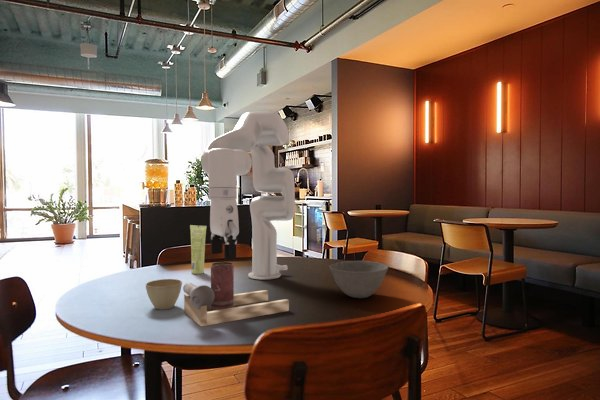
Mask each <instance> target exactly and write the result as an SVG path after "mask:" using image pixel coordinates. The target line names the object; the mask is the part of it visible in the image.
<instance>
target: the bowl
mask: <svg viewBox="0 0 600 400" xmlns="http://www.w3.org/2000/svg"><path fill="white" fill-rule="evenodd" d="M328 268H329V269H330V272H331V274H332V276H333V279H334V281H335V283H336V285H337V286H338V288H339V289H340V290H341V292H343V293H344V294H345V295H347V296H348V297H351V298H353V299H365V298H369V297H370V296H372V295H373V294H374V293H376V291H377V290H378V289H379V287H380V286H381V284H382V283H383V281H384V278H385V276H386V275H387V272H388V270H389V266H388V265H387V264H385V263H381V262H377V261H369V260H346V261H339V262H335V263H331V264H330V265H329V267H328Z"/></svg>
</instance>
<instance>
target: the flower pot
mask: <svg viewBox="0 0 600 400" xmlns="http://www.w3.org/2000/svg"><path fill="white" fill-rule="evenodd" d="M182 285H183V281H182V280H181V279H178V278H177V279H176V278H163V279H156V280H151V281H148V282H146V283H145V289H146V293H147V296H148V299H149V301H150V303H151V305H152V306H153V307H154V308H155V309H156V310H168V309H173V308H174V306H175V304H176V303H177V301H178V299H179V296H180V294H181V290H182Z"/></svg>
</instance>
